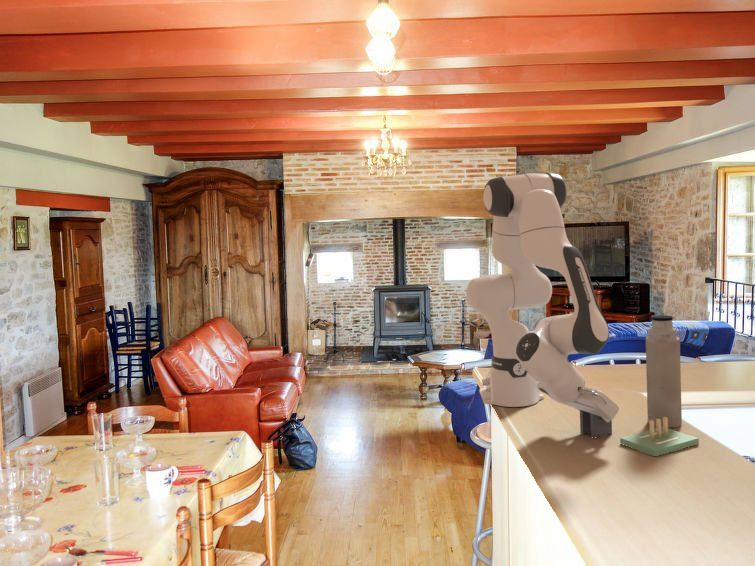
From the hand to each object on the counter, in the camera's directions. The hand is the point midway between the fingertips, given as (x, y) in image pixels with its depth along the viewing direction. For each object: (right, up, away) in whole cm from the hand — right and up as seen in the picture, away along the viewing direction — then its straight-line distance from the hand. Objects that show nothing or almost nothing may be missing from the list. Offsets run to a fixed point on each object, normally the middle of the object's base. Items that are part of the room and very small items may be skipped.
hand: (597, 416), depth 151 cm
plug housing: (0, -4, 0) cm, 4 cm away
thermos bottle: (+19, -3, +5) cm, 20 cm away
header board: (+11, -5, -10) cm, 15 cm away
